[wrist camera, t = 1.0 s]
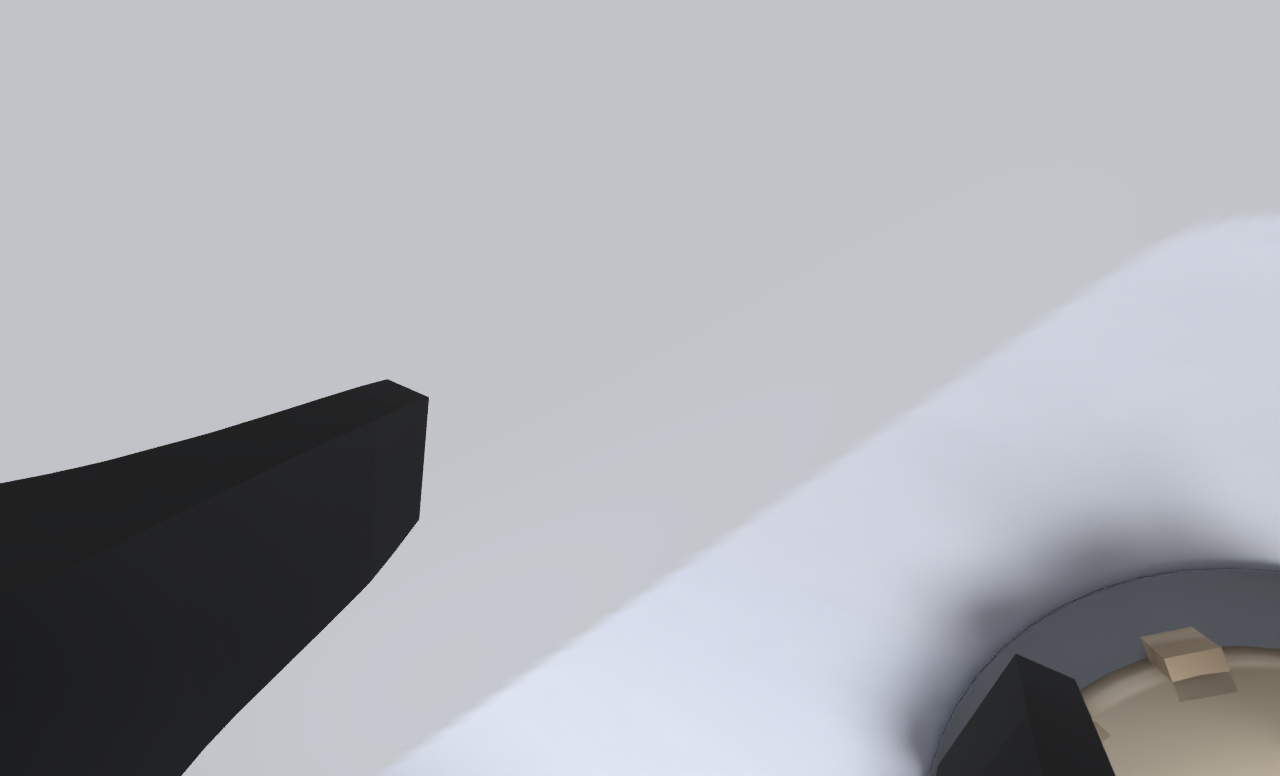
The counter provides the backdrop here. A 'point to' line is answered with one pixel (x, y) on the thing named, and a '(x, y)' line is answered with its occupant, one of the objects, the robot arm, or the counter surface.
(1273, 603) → the base plate
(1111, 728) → the sprocket
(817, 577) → the counter surface
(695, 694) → the counter surface
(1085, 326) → the counter surface
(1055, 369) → the counter surface
